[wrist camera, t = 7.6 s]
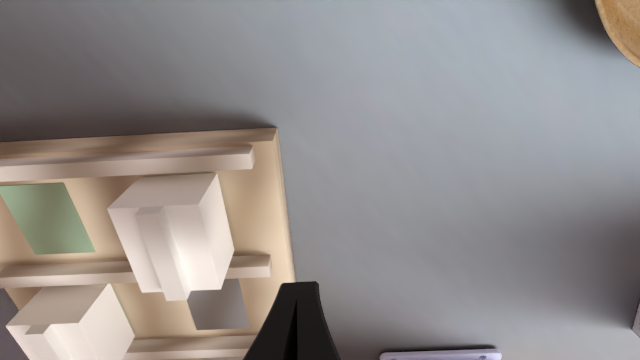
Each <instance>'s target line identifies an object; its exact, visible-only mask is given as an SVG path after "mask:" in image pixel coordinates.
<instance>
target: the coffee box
mask: <svg viewBox="0 0 640 360" xmlns="http://www.w3.org/2000/svg"><path fill="white" fill-rule="evenodd" d="M632 330H633V332H634V333H635V334H636V335H637V336H638V337H639V338H640V303H639V306H638V310H637V314H636V317H635V321H634V324H633V328H632Z"/></svg>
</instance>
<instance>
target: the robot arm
mask: <svg viewBox="0 0 640 360" xmlns="http://www.w3.org/2000/svg"><path fill="white" fill-rule="evenodd" d="M501 357H502V355H501V353H500V351H499V350H498V349H474V350H446V351H417V352H389V353H383V354H381V355H380V360H501ZM243 360H341V359H340V357H339V355H338V352H337V350H336V347H335V345H334V343H333V340H332V337H331V335H330V332H329V329H328V326H327V323H326V320H325V317H324V313H323V310H322V306H321V301H320V295H319V284H318V283H317V282H316V281H314V282H291V283H282V284H281V285H280V288H279V291H278V293H277V296H276V298H275V300H274V303H273V305H272V307H271V309H270V311H269V314H268V316H267V317H266V319H265V321H264V323H263V325H262V327H261V329H260V331H259V333H258V335H257V336H256V338H255V340H254V341H253V343H252V345H251V347H250V348H249V350H248V352H247V353H246V355H245V357H244V358H243Z"/></svg>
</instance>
